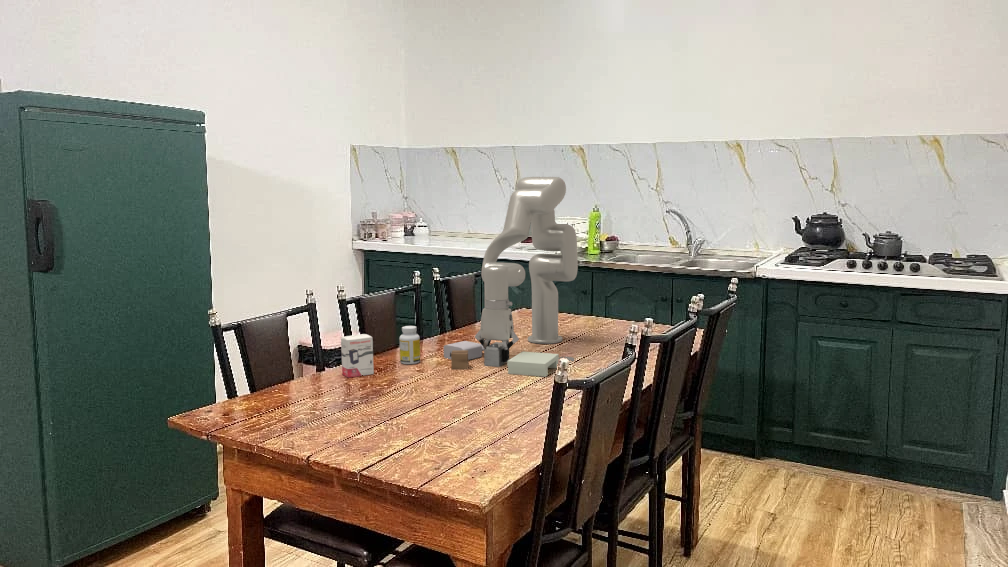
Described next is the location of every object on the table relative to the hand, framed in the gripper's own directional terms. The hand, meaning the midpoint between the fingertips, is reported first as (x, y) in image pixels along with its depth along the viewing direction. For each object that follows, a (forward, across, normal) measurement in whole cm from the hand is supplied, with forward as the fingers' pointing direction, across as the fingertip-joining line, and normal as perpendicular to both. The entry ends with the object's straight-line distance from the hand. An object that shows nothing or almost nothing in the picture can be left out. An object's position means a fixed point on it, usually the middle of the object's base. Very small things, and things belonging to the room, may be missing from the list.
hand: (496, 360), depth 257 cm
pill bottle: (+1, +27, +8) cm, 28 cm away
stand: (+1, -14, +5) cm, 15 cm away
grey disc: (+1, -20, -11) cm, 23 cm away
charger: (+2, +12, -7) cm, 14 cm away
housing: (+1, 0, 0) cm, 1 cm away
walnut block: (+1, +9, +9) cm, 13 cm away
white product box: (+1, +35, +27) cm, 44 cm away
